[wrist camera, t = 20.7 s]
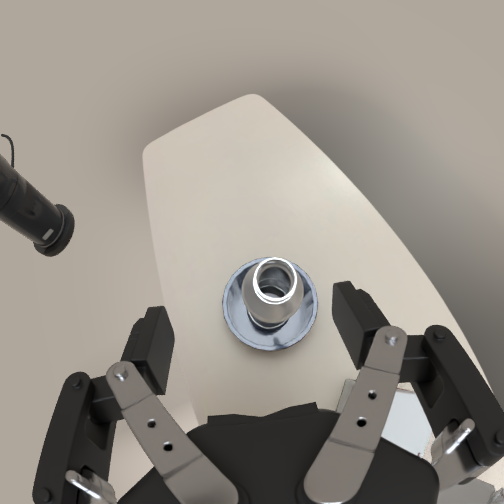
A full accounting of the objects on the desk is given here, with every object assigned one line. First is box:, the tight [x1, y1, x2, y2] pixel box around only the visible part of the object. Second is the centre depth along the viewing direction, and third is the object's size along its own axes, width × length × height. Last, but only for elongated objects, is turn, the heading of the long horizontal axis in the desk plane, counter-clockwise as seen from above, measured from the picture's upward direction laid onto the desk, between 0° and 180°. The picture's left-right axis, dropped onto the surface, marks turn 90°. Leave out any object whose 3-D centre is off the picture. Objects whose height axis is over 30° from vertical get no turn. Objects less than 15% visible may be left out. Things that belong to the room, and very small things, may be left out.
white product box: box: [336, 379, 432, 458], centre depth 30 cm, size 9×9×15 cm
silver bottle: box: [242, 258, 304, 332], centre depth 33 cm, size 6×7×20 cm
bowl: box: [222, 257, 318, 351], centre depth 40 cm, size 12×12×7 cm
